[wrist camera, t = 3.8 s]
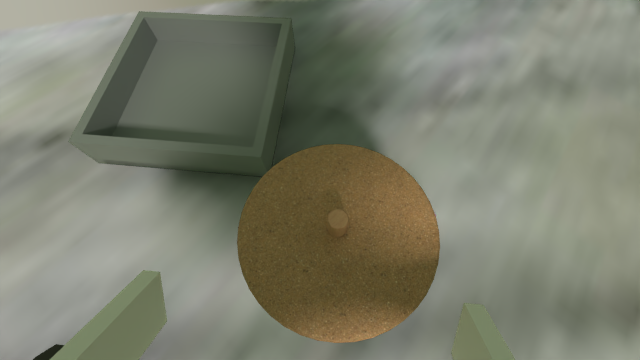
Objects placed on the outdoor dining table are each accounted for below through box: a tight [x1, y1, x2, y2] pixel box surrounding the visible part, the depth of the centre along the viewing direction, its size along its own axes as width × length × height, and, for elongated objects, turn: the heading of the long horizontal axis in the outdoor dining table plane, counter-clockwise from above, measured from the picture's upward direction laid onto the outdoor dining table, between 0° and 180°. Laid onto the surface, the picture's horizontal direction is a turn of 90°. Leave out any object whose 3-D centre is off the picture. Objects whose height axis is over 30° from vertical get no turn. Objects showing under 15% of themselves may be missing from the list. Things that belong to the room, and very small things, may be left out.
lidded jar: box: [237, 144, 440, 343], centre depth 19 cm, size 11×11×9 cm
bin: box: [68, 11, 295, 177], centre depth 28 cm, size 16×16×4 cm
